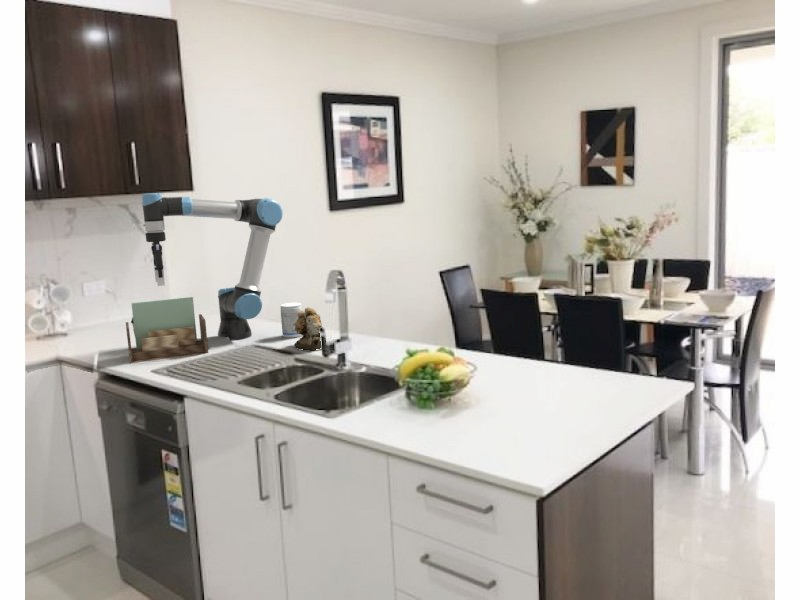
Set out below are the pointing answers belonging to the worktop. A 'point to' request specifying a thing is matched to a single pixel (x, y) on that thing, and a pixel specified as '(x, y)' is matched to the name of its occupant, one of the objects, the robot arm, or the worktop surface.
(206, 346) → the rack
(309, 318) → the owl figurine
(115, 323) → the worktop surface
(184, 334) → the offcut oak
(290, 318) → the supplement tub
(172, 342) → the offcut birch
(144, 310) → the sheet
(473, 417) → the worktop surface
